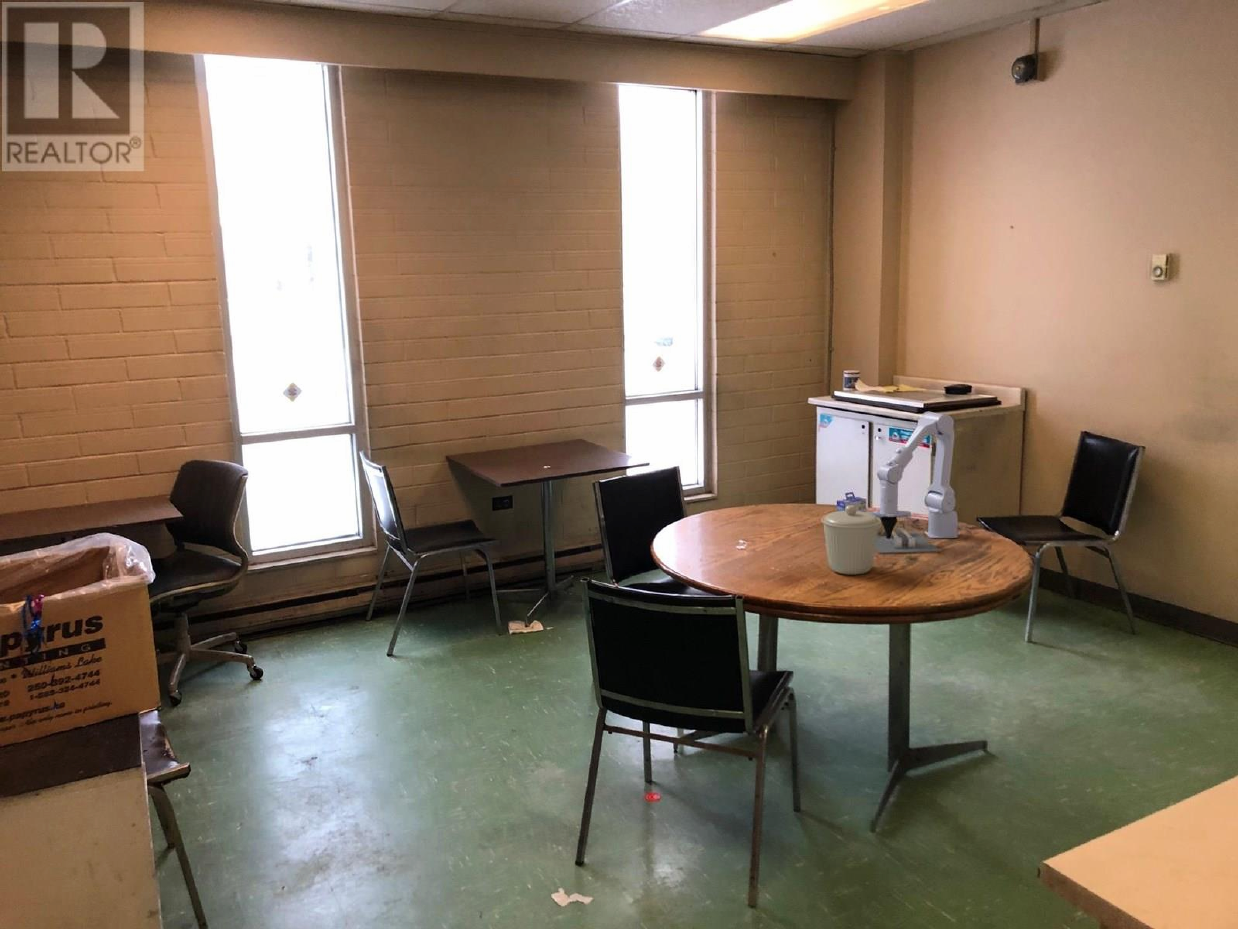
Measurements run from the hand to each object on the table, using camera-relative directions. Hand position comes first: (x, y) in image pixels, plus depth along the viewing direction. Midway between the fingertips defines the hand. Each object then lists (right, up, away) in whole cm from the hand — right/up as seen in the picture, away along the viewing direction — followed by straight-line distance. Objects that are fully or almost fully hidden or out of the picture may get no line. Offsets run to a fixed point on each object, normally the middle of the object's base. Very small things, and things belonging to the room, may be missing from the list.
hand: (888, 538), depth 336 cm
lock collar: (+4, 0, +11) cm, 11 cm away
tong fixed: (+6, -1, +1) cm, 6 cm away
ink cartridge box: (-8, +1, +18) cm, 19 cm away
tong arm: (+2, -1, +1) cm, 2 cm away
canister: (-20, -8, -27) cm, 35 cm away
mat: (+4, -2, +1) cm, 5 cm away
